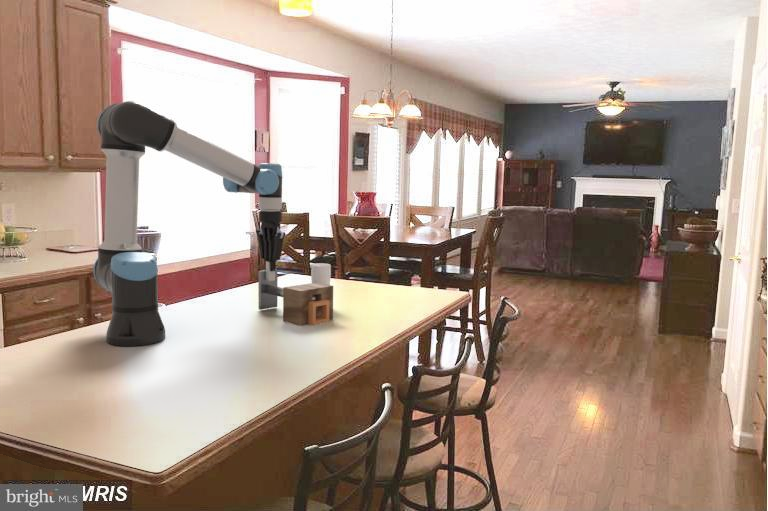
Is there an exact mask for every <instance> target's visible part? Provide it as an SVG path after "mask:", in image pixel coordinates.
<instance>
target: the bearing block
mask: <svg viewBox="0 0 768 511" xmlns="http://www.w3.org/2000/svg"><path fill="white" fill-rule="evenodd" d="M282 288H283V297H282V299H283V300H282V301H283V305H282V306H283V307H282V309H283V310H282V311H283V312H282V313H283V316H282V317H283V318H282V321H283V322H285V323H289V324H291V323H292V324H293V325H295V326H300V327H302V326H305V325H309V324H308V316H309V302H312V295H316V296H317V297H318V301H319V300H330V302H329V321H330V320H333V319H334V285H331V284H330V285H327V284H322V283H312V282H310V283H305V284H298V285H297V284H296V285H290V286H284V287H282ZM318 318H322V306H317V307H316V319H318Z"/></svg>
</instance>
